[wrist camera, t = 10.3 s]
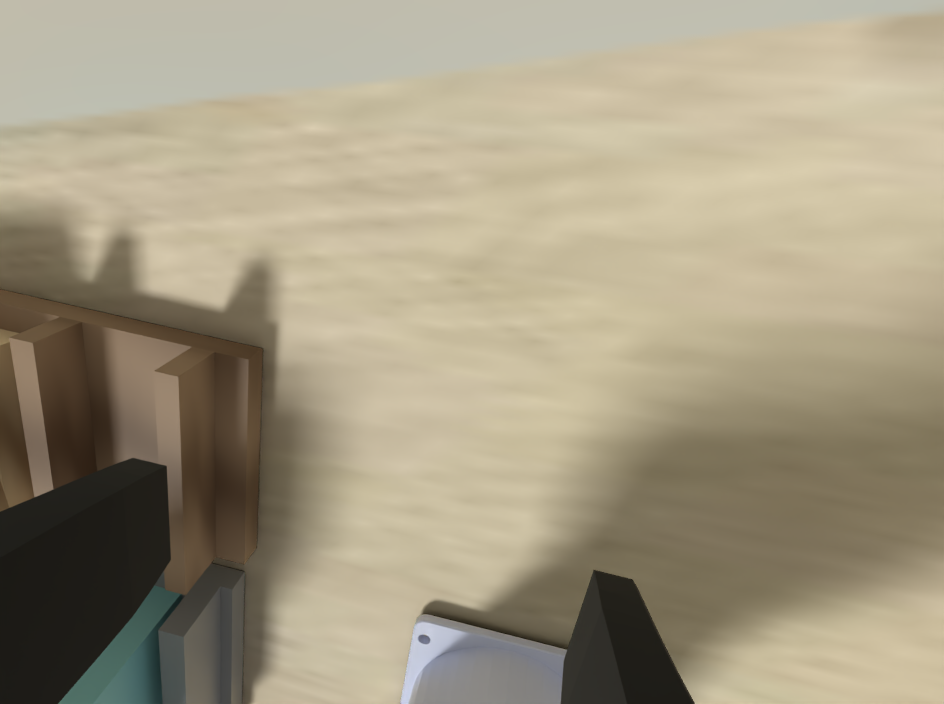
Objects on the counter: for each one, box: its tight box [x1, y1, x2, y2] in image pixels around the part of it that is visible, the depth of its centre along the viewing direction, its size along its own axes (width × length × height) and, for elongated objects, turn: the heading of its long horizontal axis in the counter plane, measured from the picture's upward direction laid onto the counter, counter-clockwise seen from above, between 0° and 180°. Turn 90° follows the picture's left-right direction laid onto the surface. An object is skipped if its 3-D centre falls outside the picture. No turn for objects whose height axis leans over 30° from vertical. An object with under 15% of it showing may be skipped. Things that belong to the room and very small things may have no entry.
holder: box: [154, 563, 245, 704], centre depth 25 cm, size 9×7×4 cm
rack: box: [0, 289, 263, 595], centre depth 21 cm, size 9×13×3 cm
